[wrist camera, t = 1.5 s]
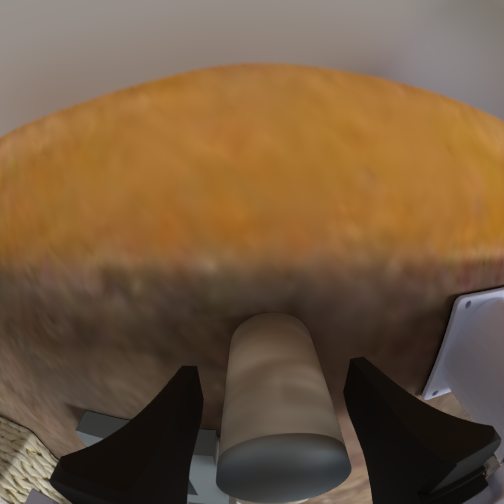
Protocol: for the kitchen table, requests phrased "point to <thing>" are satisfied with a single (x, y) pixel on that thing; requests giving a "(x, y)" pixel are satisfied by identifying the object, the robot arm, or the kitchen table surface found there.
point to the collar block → (201, 465)
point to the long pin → (278, 416)
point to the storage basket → (24, 465)
